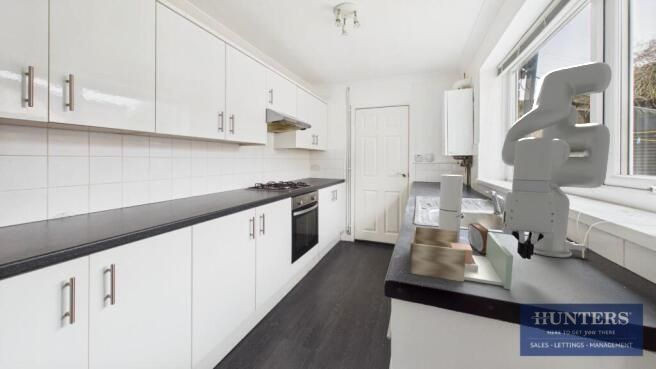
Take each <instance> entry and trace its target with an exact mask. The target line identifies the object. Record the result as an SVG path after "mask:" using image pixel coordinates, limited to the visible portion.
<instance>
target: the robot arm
mask: <svg viewBox="0 0 656 369" xmlns="http://www.w3.org/2000/svg"><path fill="white" fill-rule="evenodd" d="M611 68H612V67H610V65H609V64H608V63H606V62H603V61H593V62H588V63H582V64H577V65H573V66H572V65H571V66H568V67H562V68H558V69H554V70H552V71H549V72H547V73H546V74H545V75H543V76H542V77H540V79H538V82H537V83H536V84H537V85H536V94H535V98H534V101H533V106H532V109H531V110H530V111H528V112H527V113H525V114H524V115H522V117H519V119H518V120H517V121H515V122H514V123H513V124H512V125H511V126H510V128H508V130H507V133H506V136H505V139H504V142H503V146H502V151H501V160H502V162H503V163H504V164H505V165H507V166H509V167H513V175H512V187H511V190H508V191H507V193H506V196H505V201H504V207H503V210H502V211H503V212H502V217H501V218H502V220H501V222H502V225H503V226H502V228H501V232H503V233H504V234H506V235H511V236H513V237H514V238H515V239H516V240H517V248H516V249H517V250H516V251H517V254H518V256H520V258H521V259H528V260H531V259H532V256H534V254H537V255H541V256H544V257H545V256H547V257H553V258H560V259H562V258H570V257H571V256H572V254H573V253H572V251H573V250H577V251H583V252H585V251H587V250H586V249H587V248H586V245H585V244H583V243H576V242H570V241H569V240H567V233H568V223H569V215H570V205H571V204H570V203H571V202H570V198H569V197H568V195H567V194H566V193H565V192H564V191H563V190H562V189H561V188H579V189H580V188H583V189H596V188H600V187H601V186H602V185H603V184H604V183H605V181H606V177H607V171H608V162H609V154H610V153H609V152H610V145H611V143H610V141H611V134H610V130H609V127H608V126H607V125H605V124H603V123H582V124H578V123H579V122H578V121H579V115H580V113H579V110H578V109H577V107H575V106H574V105H573V103H572V102H573V98H574V97H578V96H584V95H585V96H586V95H587V96H588V95H592V94H601V93H604V91H606V90H607V89H608V88H609V86H610V83H611V82H612V81H611V80H612V75H613V74H612V69H611ZM541 130H542V133H541V137H540V136H537V137H527V136H528V135H531V134H533V133H535V132H538V131H541ZM573 155H574V156H573ZM577 155H579V156H577ZM580 155H581V156H580ZM526 232H527V233H528V235H527V237H526V235H525V233H526Z"/></svg>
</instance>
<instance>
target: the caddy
mask: <svg viewBox="0 0 656 369" xmlns="http://www.w3.org/2000/svg"><path fill="white" fill-rule="evenodd" d="M457 234H458V231H456V230H446V229H438V228H433V227H425V226H424V227H421V226H414V228H413V232H412V236H411V241H410V250H409V252H410V253H409V274H414V275H419V276H426V277H433V278H439V279H445V280H451V281H456V282H465V280H464V272H465V256H466V250H463V249H455V248H450V243H457Z"/></svg>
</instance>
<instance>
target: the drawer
mask: <svg viewBox="0 0 656 369" xmlns="http://www.w3.org/2000/svg"><path fill="white" fill-rule="evenodd" d="M513 263H514V255H513V254H512V253H511V252H510V251H509V249H507V247H506V246H505V245H504V244H503V243H502V242H501V241H500V240H499V239H498V237H497V236H496V235H495V234H494V232H491V231H489V232H487V247H486V254H485V256H484V255H476V254H475V255H474V254H472V264H467V263H465V272H464V281H471V282H475V283H484V284H489V285H495V286H502V287H503V289H507V290H511V289H512V278H513V276H512V275H513Z"/></svg>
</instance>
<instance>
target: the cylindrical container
mask: <svg viewBox="0 0 656 369" xmlns="http://www.w3.org/2000/svg"><path fill="white" fill-rule="evenodd" d="M463 184H464V175H462V174H440V184H439V185H440V190H439V208H438V227H437V229H446V230H456V231H458V234H457V243H459V244H460V240H461V239H460V236H461V219H462V204H463V202H462V201H463V200H462V199H463V188H464V185H463Z"/></svg>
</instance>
